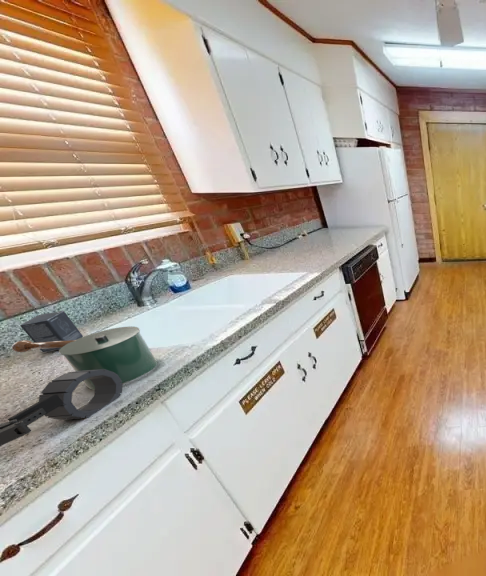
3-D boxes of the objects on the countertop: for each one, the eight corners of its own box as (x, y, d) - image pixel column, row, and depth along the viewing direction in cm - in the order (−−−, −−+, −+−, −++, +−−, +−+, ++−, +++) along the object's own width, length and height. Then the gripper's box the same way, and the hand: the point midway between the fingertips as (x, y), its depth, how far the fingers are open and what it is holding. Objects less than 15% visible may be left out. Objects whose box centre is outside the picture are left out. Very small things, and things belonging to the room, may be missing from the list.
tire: (81, 428, 69) (51, 392, 64) (57, 430, 68) (25, 394, 64) (130, 393, 79) (108, 360, 74) (110, 395, 78) (86, 361, 74)
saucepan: (9, 398, 77) (-28, 356, 71) (73, 364, 89) (45, 327, 84) (126, 389, 80) (99, 349, 75) (173, 358, 92) (152, 322, 87)
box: (58, 341, 100) (38, 314, 96) (84, 336, 103) (64, 310, 99) (41, 353, 94) (18, 324, 90) (69, 347, 97) (47, 319, 92)
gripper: (-271, 539, 42) (-38, 420, 61) (-62, 517, 45) (99, 409, 64) (-331, 508, 39) (-66, 392, 58) (-103, 485, 42) (78, 382, 61)
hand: (21, 401), depth 61 cm, fingers open, 13 cm apart
